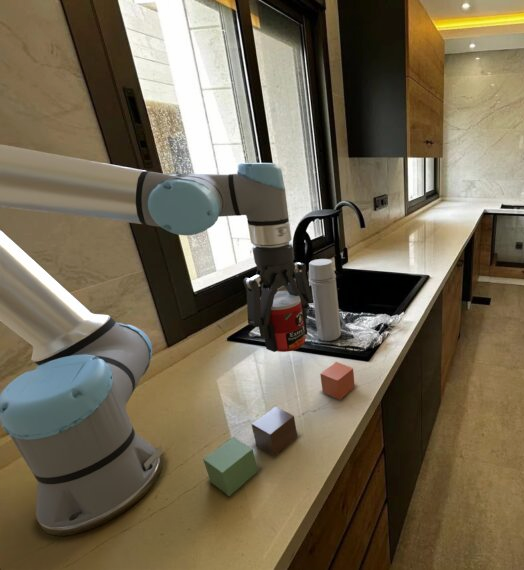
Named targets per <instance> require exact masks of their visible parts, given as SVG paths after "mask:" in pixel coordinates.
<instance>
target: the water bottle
mask: <svg viewBox="0 0 524 570" xmlns="http://www.w3.org/2000/svg"><path fill="white" fill-rule="evenodd" d="M308 271H309V272H308V274H309V276H308V277H309V278H308V283H309V284H311V295H312V299H313V301H312V302H313V309H314V317H315V318H314V319H315V327H316V331H317V337H318V339H319V340H320V341H323V342H332V341H335V340H338V339H339V338H340V337H341V335H342V329H341V318H340V310H339V300H338V298H339V297H338V289H337V288H338V287H337V279H336V278H337V275H336V273H335V269H334V263H333V260H332V259H329V258H319V259H313V260H311V261H310V262H309V263H308Z"/></svg>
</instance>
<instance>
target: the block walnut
mask: <svg viewBox="0 0 524 570" xmlns="http://www.w3.org/2000/svg"><path fill="white" fill-rule="evenodd" d="M250 424H251V427H252V434H253V437H254V441H255V445H256V446H257V447H258V448H259V449H262V450H264V451H265V452H266V453H268V454H270V455H271V456H273V457H276V456H277V455H278V454H280V453H281V452H282V451H283V450H284V449H285V448H286V447H288V446H289V445H290V444H291V443H292V442H293V441H295V440H296V439H297V438H298V430H297V426H296V420H295V416H294V414H291V413H290V412H287V411H285V410H283V409H281V408H279V407H277V406H276V405H275V406H273V407H272V408H271V409H270V410H268V411H267V412H266V413H264V414H263V415H262V416H260V417H259V418H258V419H256V420H254V421H253V422H252V423H250Z"/></svg>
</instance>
